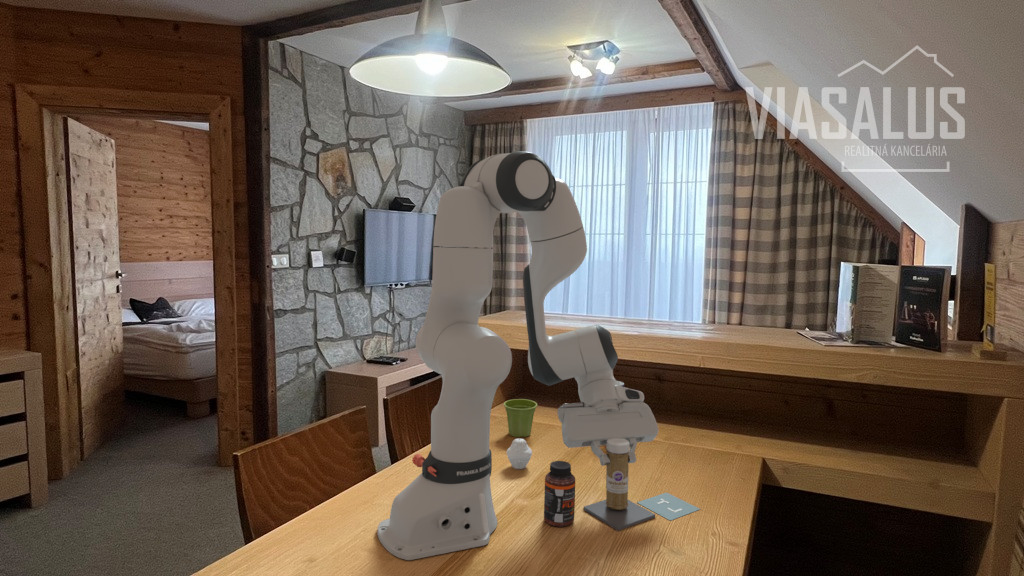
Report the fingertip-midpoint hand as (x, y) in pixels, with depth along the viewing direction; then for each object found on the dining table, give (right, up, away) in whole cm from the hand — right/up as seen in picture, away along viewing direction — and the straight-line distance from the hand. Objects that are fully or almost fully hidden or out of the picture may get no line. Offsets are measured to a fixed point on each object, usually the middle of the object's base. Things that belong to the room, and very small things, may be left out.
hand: (619, 463), depth 114 cm
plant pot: (-19, -6, +46) cm, 50 cm away
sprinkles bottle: (0, -9, +1) cm, 9 cm away
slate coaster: (0, -10, 0) cm, 10 cm away
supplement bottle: (-12, -11, -3) cm, 16 cm away
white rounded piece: (-20, -8, +23) cm, 31 cm away
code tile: (+11, -10, +4) cm, 15 cm away
